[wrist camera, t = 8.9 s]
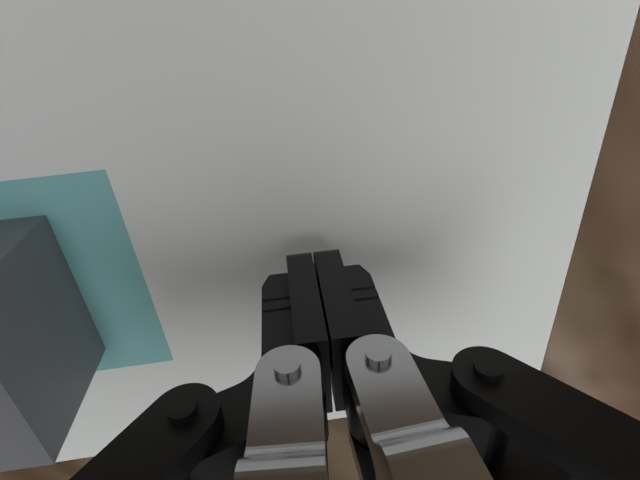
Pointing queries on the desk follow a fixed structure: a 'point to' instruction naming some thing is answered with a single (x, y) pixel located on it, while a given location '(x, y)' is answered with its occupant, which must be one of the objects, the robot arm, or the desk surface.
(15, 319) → the t block
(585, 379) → the desk surface
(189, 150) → the runner mat
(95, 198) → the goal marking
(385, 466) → the robot arm
